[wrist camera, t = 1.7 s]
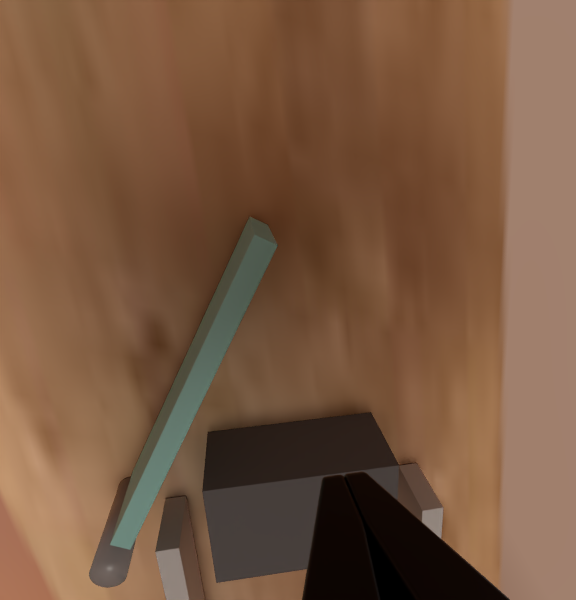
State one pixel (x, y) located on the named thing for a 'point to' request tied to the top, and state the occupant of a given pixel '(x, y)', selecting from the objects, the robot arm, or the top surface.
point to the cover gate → (195, 376)
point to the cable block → (282, 487)
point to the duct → (181, 547)
